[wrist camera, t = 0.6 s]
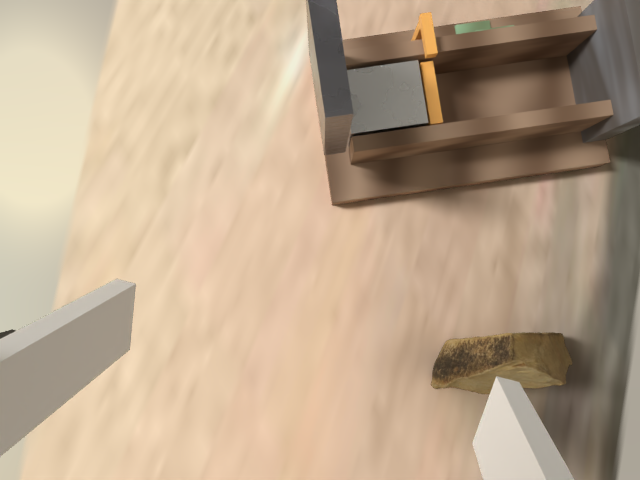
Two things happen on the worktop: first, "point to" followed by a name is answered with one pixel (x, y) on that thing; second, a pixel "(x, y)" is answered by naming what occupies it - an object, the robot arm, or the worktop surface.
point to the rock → (502, 361)
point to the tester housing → (502, 101)
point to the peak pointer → (429, 68)
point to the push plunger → (357, 86)
